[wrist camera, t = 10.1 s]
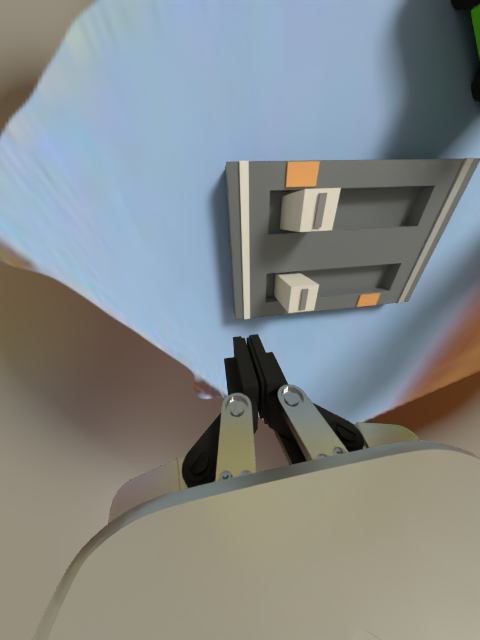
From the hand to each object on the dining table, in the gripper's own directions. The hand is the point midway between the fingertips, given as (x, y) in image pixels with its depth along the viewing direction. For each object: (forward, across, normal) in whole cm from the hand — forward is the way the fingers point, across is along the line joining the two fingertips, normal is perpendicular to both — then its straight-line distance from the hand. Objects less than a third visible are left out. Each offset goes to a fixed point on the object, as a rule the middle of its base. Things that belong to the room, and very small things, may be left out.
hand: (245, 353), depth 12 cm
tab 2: (+12, -8, 0) cm, 14 cm away
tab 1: (+12, -8, -8) cm, 17 cm away
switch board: (+13, -14, -4) cm, 20 cm away
